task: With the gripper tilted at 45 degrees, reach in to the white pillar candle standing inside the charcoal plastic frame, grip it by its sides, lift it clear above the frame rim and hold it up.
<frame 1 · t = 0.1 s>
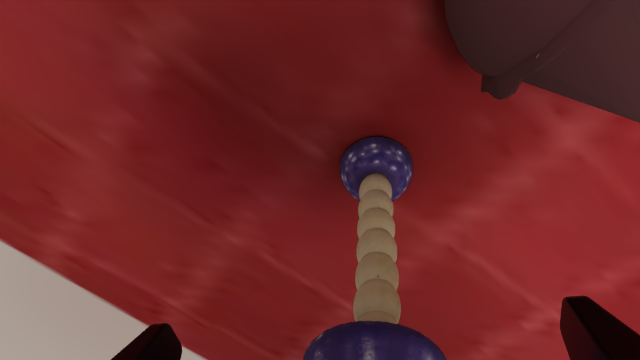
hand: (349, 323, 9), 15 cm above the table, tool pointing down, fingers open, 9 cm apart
toy lamp: (373, 171, 24), on the table
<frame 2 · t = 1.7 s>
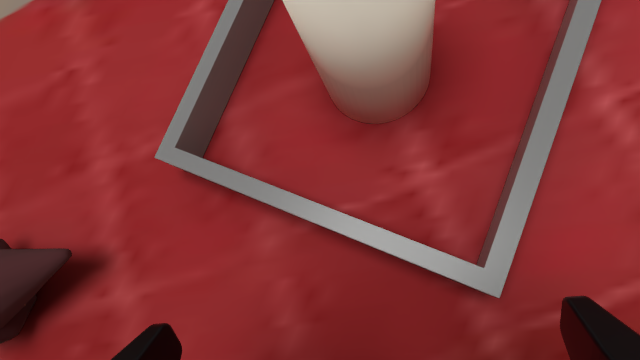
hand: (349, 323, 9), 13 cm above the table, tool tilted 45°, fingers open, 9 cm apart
frame: (377, 75, 25), on the table
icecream: (26, 289, 28), on the table
white pillar candle: (364, 13, 19), in the frame
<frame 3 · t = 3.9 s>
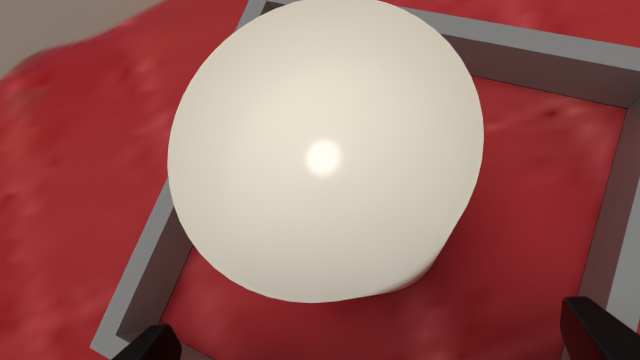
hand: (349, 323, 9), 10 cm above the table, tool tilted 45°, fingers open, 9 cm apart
frame: (375, 226, 20), on the table
white pillar candle: (357, 199, 14), in the frame
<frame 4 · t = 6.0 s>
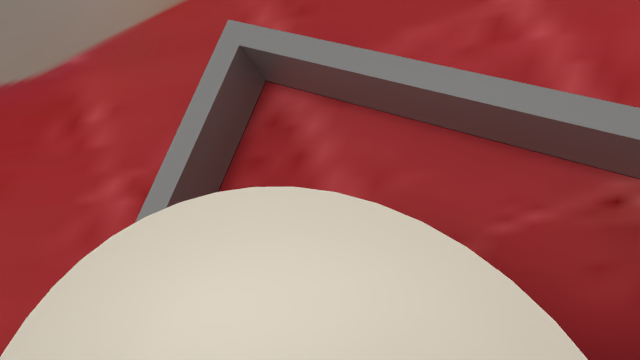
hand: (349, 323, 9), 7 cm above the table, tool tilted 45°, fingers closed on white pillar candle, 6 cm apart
frame: (381, 346, 15), on the table
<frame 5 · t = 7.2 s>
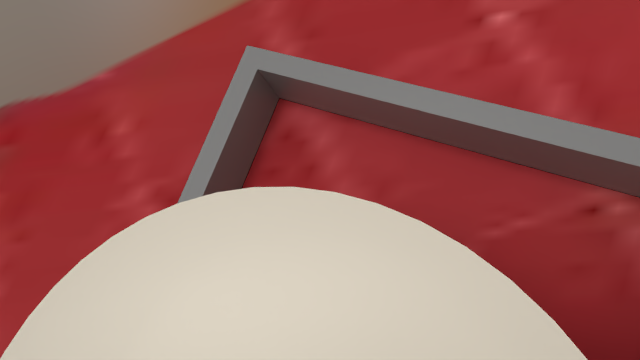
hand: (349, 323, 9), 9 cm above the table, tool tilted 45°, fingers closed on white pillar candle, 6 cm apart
frame: (385, 338, 17), on the table
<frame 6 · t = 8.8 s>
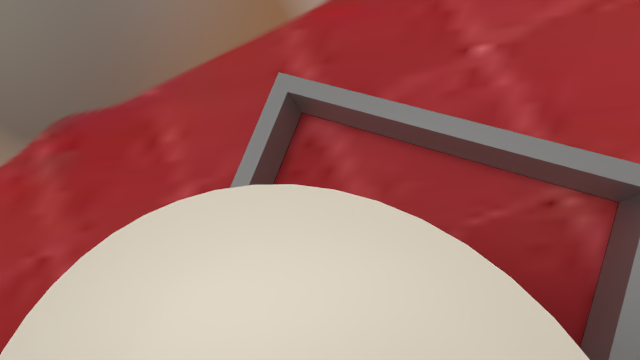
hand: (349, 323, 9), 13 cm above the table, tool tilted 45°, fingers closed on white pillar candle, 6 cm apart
frame: (389, 304, 21), on the table
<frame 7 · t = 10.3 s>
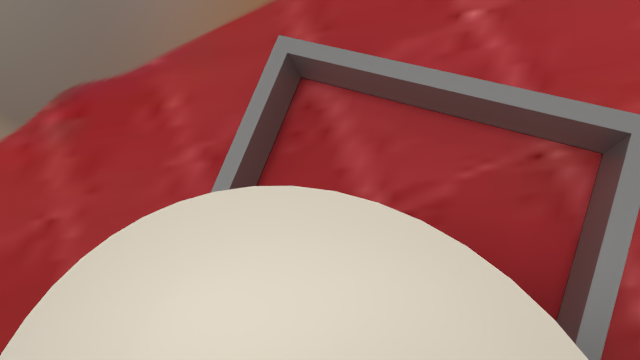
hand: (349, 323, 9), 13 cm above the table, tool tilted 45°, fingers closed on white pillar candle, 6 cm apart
frame: (384, 253, 22), on the table
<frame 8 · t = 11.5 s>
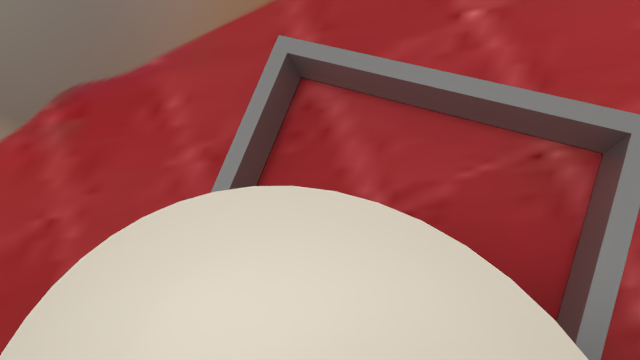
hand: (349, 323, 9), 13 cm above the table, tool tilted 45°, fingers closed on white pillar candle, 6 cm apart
frame: (384, 253, 22), on the table
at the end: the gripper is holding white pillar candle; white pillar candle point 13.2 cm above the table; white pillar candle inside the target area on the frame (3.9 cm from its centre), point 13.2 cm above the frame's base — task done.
